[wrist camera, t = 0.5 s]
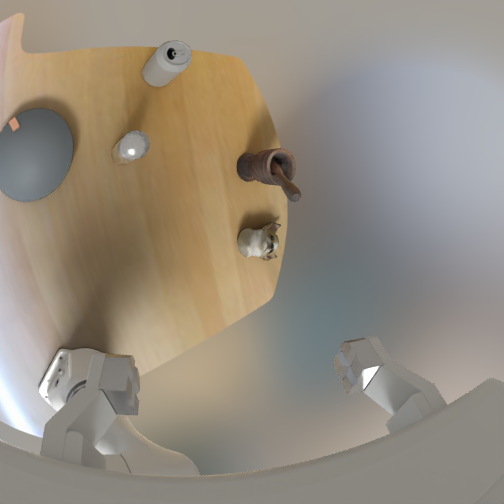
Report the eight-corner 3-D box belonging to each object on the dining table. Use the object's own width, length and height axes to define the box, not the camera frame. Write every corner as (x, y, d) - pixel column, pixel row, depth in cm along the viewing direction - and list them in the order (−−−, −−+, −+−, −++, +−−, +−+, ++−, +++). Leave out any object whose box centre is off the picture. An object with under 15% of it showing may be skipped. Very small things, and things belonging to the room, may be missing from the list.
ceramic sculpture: (254, 224, 64) (296, 225, 74) (232, 219, 71) (273, 221, 80) (249, 269, 66) (291, 264, 76) (228, 260, 73) (269, 257, 82)
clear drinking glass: (119, 169, 51) (131, 164, 42) (107, 150, 48) (116, 141, 39) (138, 155, 53) (154, 148, 43) (126, 136, 50) (140, 125, 41)
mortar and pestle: (262, 194, 75) (319, 199, 59) (235, 197, 70) (291, 203, 54) (259, 152, 71) (317, 147, 56) (232, 152, 66) (289, 145, 51)
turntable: (89, 161, 45) (89, 159, 43) (23, 220, 39) (20, 222, 37) (48, 94, 36) (48, 89, 34) (-19, 152, 30) (-23, 150, 28)
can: (142, 59, 46) (160, 35, 37) (172, 61, 51) (195, 39, 41) (140, 88, 49) (158, 67, 39) (172, 88, 53) (195, 70, 44)
